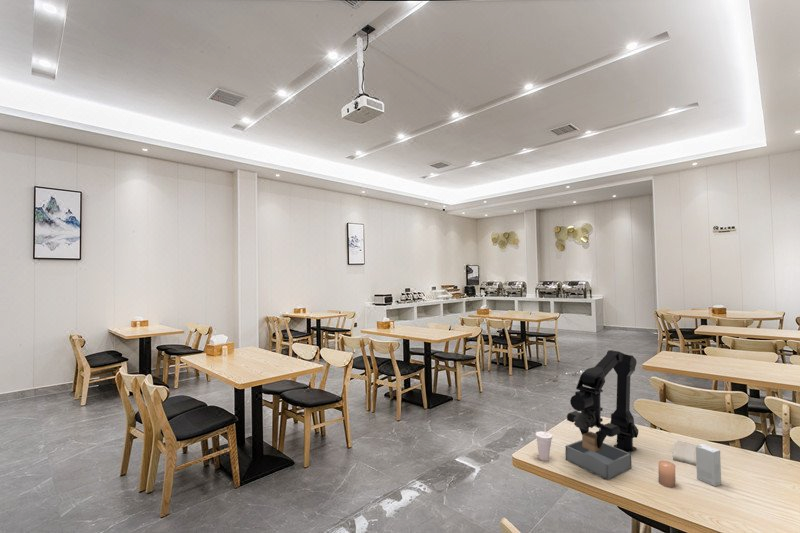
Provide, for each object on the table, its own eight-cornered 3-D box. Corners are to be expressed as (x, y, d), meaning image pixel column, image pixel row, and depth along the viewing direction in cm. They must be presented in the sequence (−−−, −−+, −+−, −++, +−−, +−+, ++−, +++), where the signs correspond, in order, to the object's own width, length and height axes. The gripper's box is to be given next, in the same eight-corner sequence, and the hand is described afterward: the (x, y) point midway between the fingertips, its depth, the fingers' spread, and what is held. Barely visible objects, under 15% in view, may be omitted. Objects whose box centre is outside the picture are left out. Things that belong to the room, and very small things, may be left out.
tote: (589, 450, 168) (589, 436, 168) (631, 468, 153) (631, 453, 153) (565, 459, 160) (565, 445, 160) (607, 480, 145) (607, 464, 145)
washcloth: (711, 453, 166) (711, 445, 166) (710, 471, 152) (710, 463, 152) (676, 445, 173) (676, 437, 173) (672, 461, 159) (672, 453, 159)
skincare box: (721, 484, 142) (721, 449, 142) (714, 487, 140) (714, 452, 140) (702, 475, 148) (702, 442, 147) (695, 478, 146) (695, 445, 145)
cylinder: (662, 478, 146) (662, 459, 146) (678, 484, 142) (678, 465, 142) (655, 482, 143) (655, 462, 143) (670, 489, 139) (670, 469, 139)
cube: (590, 443, 158) (590, 431, 158) (602, 448, 154) (602, 436, 154) (582, 447, 155) (582, 434, 155) (594, 452, 151) (594, 439, 151)
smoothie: (553, 463, 158) (553, 427, 157) (536, 461, 159) (536, 426, 159) (551, 455, 164) (550, 421, 164) (534, 454, 165) (534, 420, 165)
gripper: (557, 401, 158) (557, 441, 158) (602, 417, 142) (602, 461, 142) (575, 396, 164) (575, 434, 164) (620, 411, 148) (620, 453, 148)
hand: (592, 445), depth 155 cm, fingers closed on cube, 5 cm apart
